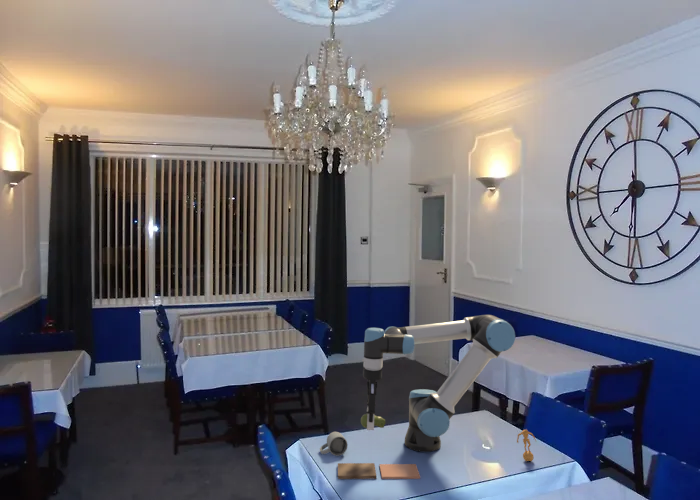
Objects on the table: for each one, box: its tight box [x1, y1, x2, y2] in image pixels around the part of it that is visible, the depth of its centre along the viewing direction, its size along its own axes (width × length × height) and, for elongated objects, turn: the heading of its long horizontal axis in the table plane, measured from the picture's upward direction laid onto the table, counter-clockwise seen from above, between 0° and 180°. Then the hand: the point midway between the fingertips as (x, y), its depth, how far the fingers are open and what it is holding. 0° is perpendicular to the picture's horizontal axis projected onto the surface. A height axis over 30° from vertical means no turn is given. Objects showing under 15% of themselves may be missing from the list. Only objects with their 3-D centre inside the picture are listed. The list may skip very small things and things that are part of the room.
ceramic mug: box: [319, 431, 349, 456], centre depth 211 cm, size 11×8×8 cm
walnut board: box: [337, 462, 377, 480], centre depth 194 cm, size 14×10×1 cm
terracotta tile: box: [379, 463, 421, 480], centre depth 194 cm, size 14×10×1 cm
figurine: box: [516, 429, 537, 462], centre depth 206 cm, size 8×6×12 cm
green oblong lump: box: [360, 413, 387, 429], centre depth 204 cm, size 6×5×10 cm
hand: (370, 426), depth 204 cm, fingers closed on green oblong lump, 6 cm apart
